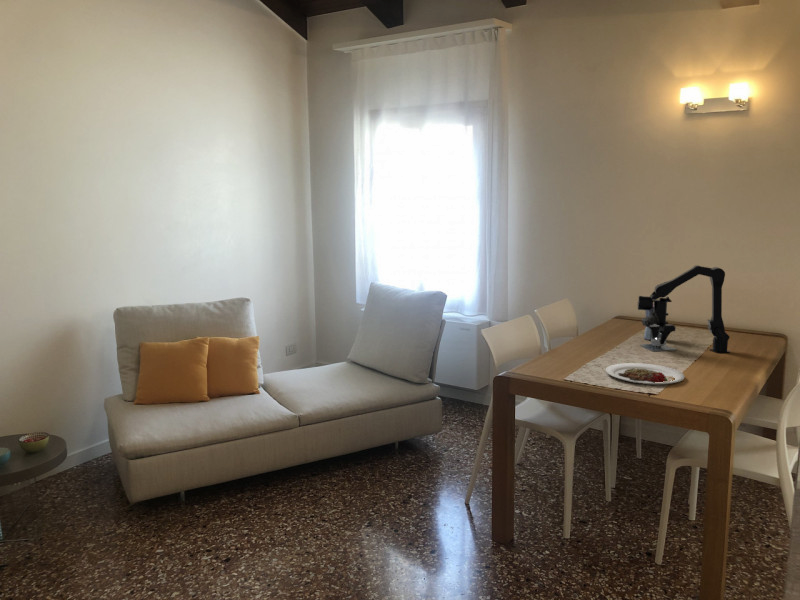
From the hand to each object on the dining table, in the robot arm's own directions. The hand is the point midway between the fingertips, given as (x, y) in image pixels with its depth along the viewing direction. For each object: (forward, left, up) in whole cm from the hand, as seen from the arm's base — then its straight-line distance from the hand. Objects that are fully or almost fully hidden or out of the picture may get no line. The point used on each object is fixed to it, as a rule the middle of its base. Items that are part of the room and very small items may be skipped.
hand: (658, 342), depth 308 cm
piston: (0, 0, -3) cm, 3 cm away
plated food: (-45, +32, -3) cm, 55 cm away
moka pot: (+18, -8, -3) cm, 20 cm away
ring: (0, 0, -1) cm, 1 cm away
